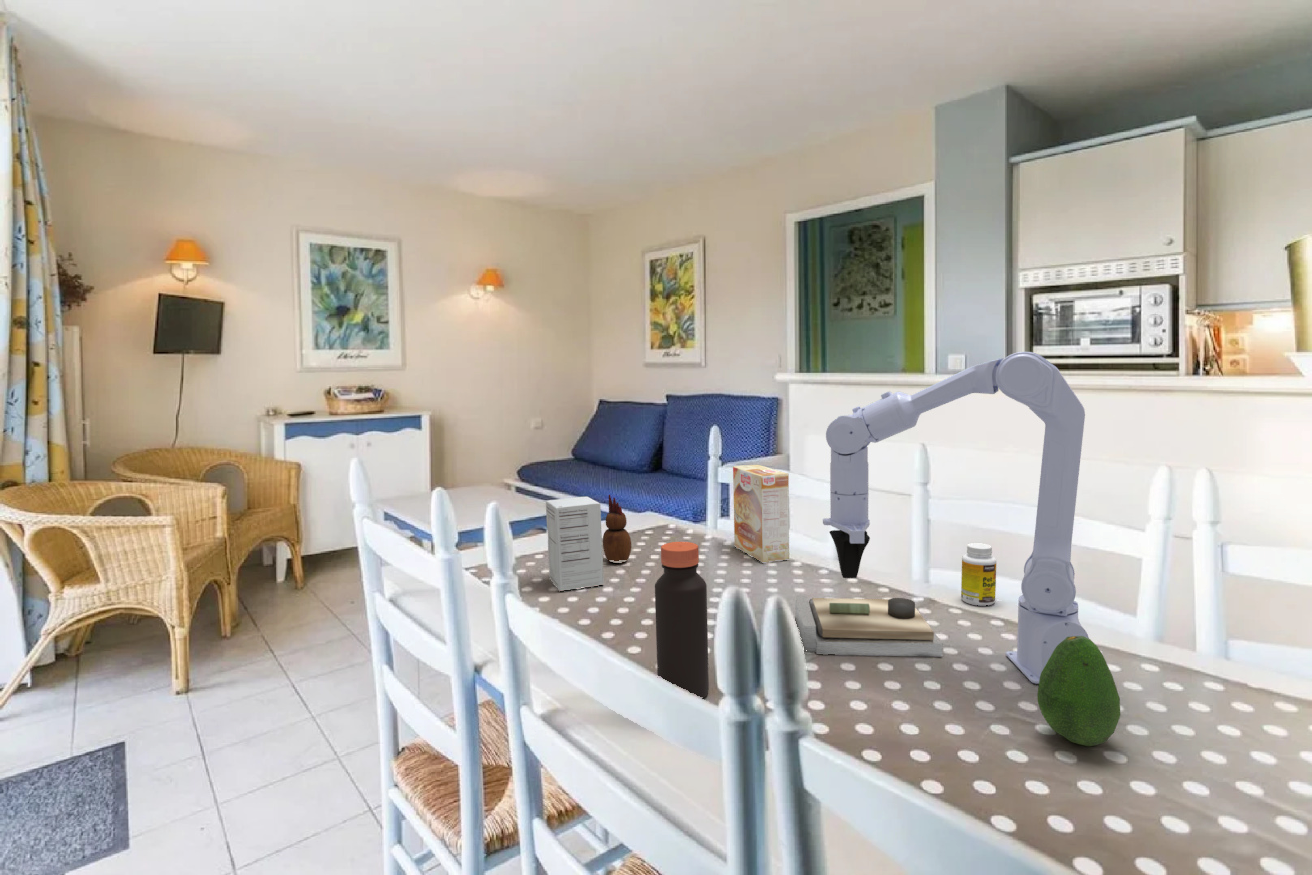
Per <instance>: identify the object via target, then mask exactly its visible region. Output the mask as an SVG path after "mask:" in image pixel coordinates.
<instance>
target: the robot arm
mask: <svg viewBox="0 0 1312 875" xmlns="http://www.w3.org/2000/svg"><path fill="white" fill-rule="evenodd" d="M999 390H1000V392H1001V393H1003V394H1004V395H1005V396H1007V397H1008V398H1010V399H1012V400H1013V401H1016V402H1018V403H1020V404H1022V405H1024V406H1026V407H1028V409H1029V410H1031V411H1032V412H1033V413H1034V414H1035V415H1036V416H1037V417H1038V418H1039V419H1041V421H1042V422H1043V423H1044V425H1045V426H1044V436H1043V437H1044V438H1043V445H1042V446H1043V447H1042V456H1041V466H1040V467H1041V468H1040V475H1039V486H1038V487H1039V488H1038V497H1037V505H1036V507H1037V509H1036V518H1035V528H1034V529H1035V530H1034V538H1033V547H1032V553H1031V554H1030V555H1029V557H1028V558H1027V559H1026V560H1025V563H1024V566H1023V577H1022V579H1021V586H1020V587H1021V594H1022V595H1020V596H1019V597H1018V598H1017V599H1018V606H1017V607H1018V608H1017V609H1018V610H1017V638H1016V640H1017V643H1016V646H1017V648H1016V650H1015V651H1013V650H1012V651H1011V650H1010V651H1006V652H1005V655H1006V657H1007V658H1008V659H1009V660H1010V661H1011V662H1012V663H1013V664H1014V665H1015V666H1016V668H1018V670H1020V672H1022V674H1023V675H1024V676H1025V677H1026V678H1027V679H1028V680H1029V681H1030V682H1031V683H1032V684H1038V685H1039V680H1040V675H1041V672H1042V671H1043V669H1044V667H1045V665H1046V664H1047V662H1048V660H1049V658H1050V657H1051V655H1052V653H1053V651H1054V650H1055V648H1056V647H1057V645H1058V644H1059V643H1061V642H1062V641H1063V640H1065V639H1066V638H1067V637H1073V636H1084V637H1086V638H1088V639H1090V637H1089V635H1088V632H1087V630H1086V629H1085V628H1084V627H1083V626H1082V624H1081V623H1080V619H1079V603H1078V602H1077V601H1075V599H1076V595H1077V594H1076V593H1077V589H1076V588H1077V587H1076V585H1075V568H1074V566H1073V564H1072V562H1071V561H1072V560H1071V559H1072V545H1073V544H1072V542H1073V531H1074V524H1075V515H1076V514H1075V513H1076V503H1077V497H1078V496H1077V495H1078V494H1077V493H1078V487H1079V486H1078V485H1079V475H1080V465H1081V456H1082V446H1083V437H1084V429H1085V428H1084V427H1085V421H1086V420H1085V418H1086V412H1085V408H1084V405H1083V404H1082V402H1081V400H1080V399H1079V398H1078V396H1077V395H1076V394H1075V392H1074V390H1073V389H1072V388H1071V386H1070V384H1069V383H1068V382H1067V380H1066V379H1065V378H1064V376H1063V374H1062V372H1061V371H1060V370H1059V368H1058V367H1057V366H1056V365H1054V364H1053V363H1052V362H1051V361H1049V360H1047V359H1046V358H1045V357H1044V356H1042V355H1041V354H1039V353H1036V352H1033V351H1017V352H1014V353H1011V354H1009V355H1008V356H1006V357H1001V358H996V359H993V360H988V361H985V362H982V363H980V364H979V363H978V364H975V365H972V366H970V367H967V368H965V369H963V370H961V371H960V372H957V373H955V374H953V375H951V376H949V377H947V378H945V379H943V380H940V381H938V382H936V383H934V384H931V385H930V386H928V387H926V388H924V389H921V390H920V391H918V392H915V393H913V394H908V393H904V392H901V391H895V392H894V393H892V392H891V391H890V390H889V391H887V392H884V393H881V395H880V397H881V399H878V400H876V401H874V402H872V403H870V404H867V405H865V406H863V407H861V406H860V405H859V406H855V407H853V408H852V409H851V410H852V413H851V414H848V415H840V416H838V417H837V418H835V419H834V420H832V421H831V422H830V423H829V424H828V426H827V428H826V431H825V439H826V442H827V445H828V446H829V448H830V463H829V466H830V467H829V468H830V469H829V472H830V473H829V474H830V478H829V479H830V481H829V482H830V484H829V486H830V492H829V493H830V499H829V502H830V507H829V508H830V517H828V518H827V517H826V518H825V517H824V518H823V519H822V524H823V525H824V526H831V527H833V528H835V529H837V530H835V529H834V530H830V531H829V534H830V536H831V539H832V540H833V543H834V546H835V549H836V553H837V557H838V559H837V560H838V563H839V570H840V573H841V576H842V578H843V579H857V577H858V575H859V570H860V566H861V563H862V562H861V561H862V558H863V553H864V551H865V549H866V547H867V546H868V545H869V542H870V540H871V538H870V536H869V534H868V531H867V529H868V528H869V527H870V524H871V523H870V519H869V462H868V460H869V459H868V458H869V457H868V456H869V454H868V453H869V452H868V449H869V447H868V446H869V445H870V444H871V443H874V444H875V443H879V442H882V441H884V440H886V439H889V438H891V437H894V436H896V435H898V434H901V433H902V432H904V431H907V430H911V429H912V428H914V427H916V425H917V423H918V420H919V418H920V416H921V415H922V414H923V413H926V412H928V411H929V412H930V411H932V410H933V409H936V408H938V407H941V406H943V405H946V404H948V403H950V402H953V401H956V400H959V399H961V398H963V397H966V396H968V395H971V394H984V395H987V394H988V395H995V394H997V393H998V392H999Z"/></svg>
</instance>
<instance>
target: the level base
mask: <svg viewBox="0 0 1312 875" xmlns="http://www.w3.org/2000/svg"><path fill="white" fill-rule="evenodd" d="M794 596H795V597H794V601H795V602H794V603H795V604H794V606H795V617H794V618H795V622H796V625H798V626H797V628H798V627H799V630H800V634H799V637H800V636H801V638H802V642H803V646H804V650H803V652H804V651H805V652H806V650H807V651H808V653H809V651H810V652H811V653H815V652H816V655H817V654H823V656H826V655H827V656H829V655H828V654H835V655H834V656H874V657H877V656H878V657H879V656H880V657H928V658H929V657H931V658H932V657H934V658H935V657H938V658H943V650H944V644H943V643H944V642H942V641H941V639H940V638H939V637H938V635H937V633H936V632H935V631H934V630H933V632H934V640H917V639H877V638H836V637H823V636H821V635H819V633H818V630H817V627H816V624H815V621H814V617H813V614H812V611H811V608H810V605H809V600H808V598H807V597H808V596H807V595H806V594H795V595H794ZM924 620H925V621H926V619H925V618H924ZM927 624H928V625H929V623H928V622H927ZM930 628H931V629H932V627H931V626H930ZM799 630H798V631H799ZM801 638H800V639H801ZM802 642H801V643H802ZM803 646H802V647H803ZM812 651H814V652H812ZM805 652H804V653H805Z"/></svg>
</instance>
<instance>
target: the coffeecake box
mask: <svg viewBox="0 0 1312 875" xmlns="http://www.w3.org/2000/svg"><path fill="white" fill-rule="evenodd" d="M732 477H733V480H732V481H733V483H732V484H733V487H732V488H733V532H734V534H733V535H734V537H733V538H734V545H735V546H736V547H737V548H740V549H741V550H742V551H744V552H746V553H748V554H749V555H751V556H753V557H754V558H756V559H757V560H760V561H761V562H769V561H775V560H785V559H789V560H790V499H789V498H790V497H789V496H790V495H789V493H790V492H789V491H790V490H789V487H790V486H789V483H790V482H789V481H790V480H789V479H790V478H789V473H787V472H783V471H781V470H778V469H775V468H771V467H767V466H764V465H760V464H749V465H748V464H746V465H742V464H741V465H734V466H733V467H732ZM737 548H736V549H737ZM742 551H741V552H742ZM744 552H743V553H744ZM749 555H748V556H749ZM754 558H753V559H754ZM756 559H755V560H756ZM757 560H756V561H757ZM761 562H760V563H761Z"/></svg>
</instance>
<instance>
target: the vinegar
mask: <svg viewBox="0 0 1312 875" xmlns="http://www.w3.org/2000/svg"><path fill="white" fill-rule="evenodd" d="M699 552H700V551H699V545H698V544H696V543H694V542H690V541H672V542H667V543H663V544H662V545H661V546H660V561H661V567H662V569H663V574H662V575H661V576H660V577H658V579H657V580H656V582H655V584H654V601H655V602H654V604H655V609H654V610H655V637H656V639H655V640H656V669H657V671H656V673H657V675H658V676H661V677H662V678H663V679H665V680H667V681H669V682H671V683H672V684H676V685H677V686H679V687H681V688H683V689H686V690H688V691H689V692H690V693H694V694H696V695H697V696H700V697H703V699H705V698H706V697H707V696H708V694H709V689H710V684H709V681H710V679H709V676H710V675H709V643H708V642H709V640H708V639H709V638H708V600H707V599H708V597H707V596H708V595H707V594H708V590H707V588H708V587H707V582H706V581H705V579H704V578H703V577H702V576H701V574H699V573H698V572H697V569H698V568H699V562H700V560H699V559H700V557H699V555H700V554H699Z"/></svg>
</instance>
